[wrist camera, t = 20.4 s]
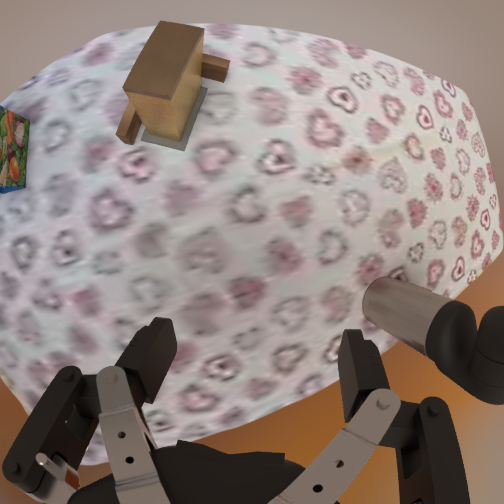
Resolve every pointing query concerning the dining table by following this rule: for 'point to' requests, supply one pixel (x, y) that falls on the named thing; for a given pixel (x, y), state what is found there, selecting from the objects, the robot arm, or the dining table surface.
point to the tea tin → (167, 79)
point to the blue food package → (12, 150)
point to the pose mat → (182, 144)
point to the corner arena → (131, 121)
